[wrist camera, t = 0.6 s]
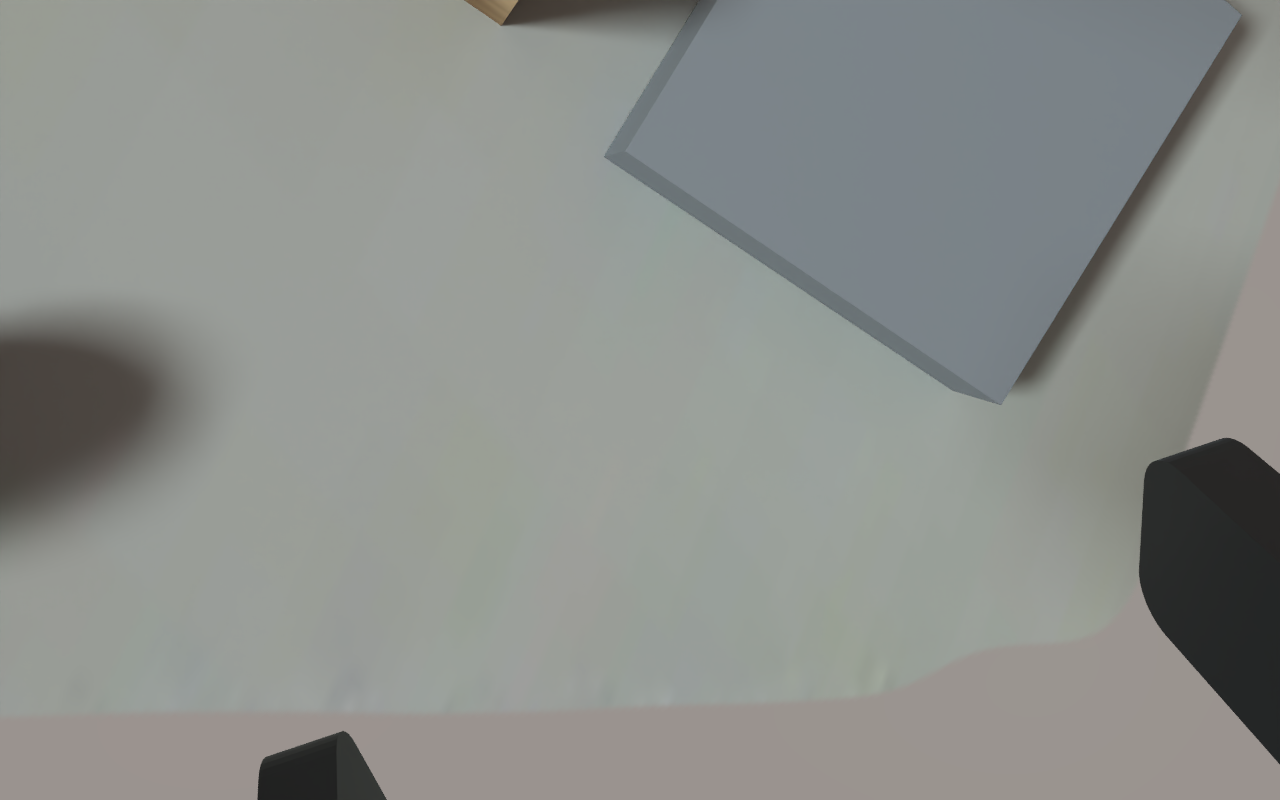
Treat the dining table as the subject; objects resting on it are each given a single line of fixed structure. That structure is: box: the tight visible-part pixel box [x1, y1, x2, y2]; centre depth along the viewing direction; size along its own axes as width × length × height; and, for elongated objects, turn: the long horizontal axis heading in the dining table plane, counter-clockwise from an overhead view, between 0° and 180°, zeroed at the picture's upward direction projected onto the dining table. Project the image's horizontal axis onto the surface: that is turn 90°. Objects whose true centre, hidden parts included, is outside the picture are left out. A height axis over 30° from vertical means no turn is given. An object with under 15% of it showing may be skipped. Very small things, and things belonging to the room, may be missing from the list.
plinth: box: [604, 0, 1242, 405], centre depth 35 cm, size 14×14×3 cm
